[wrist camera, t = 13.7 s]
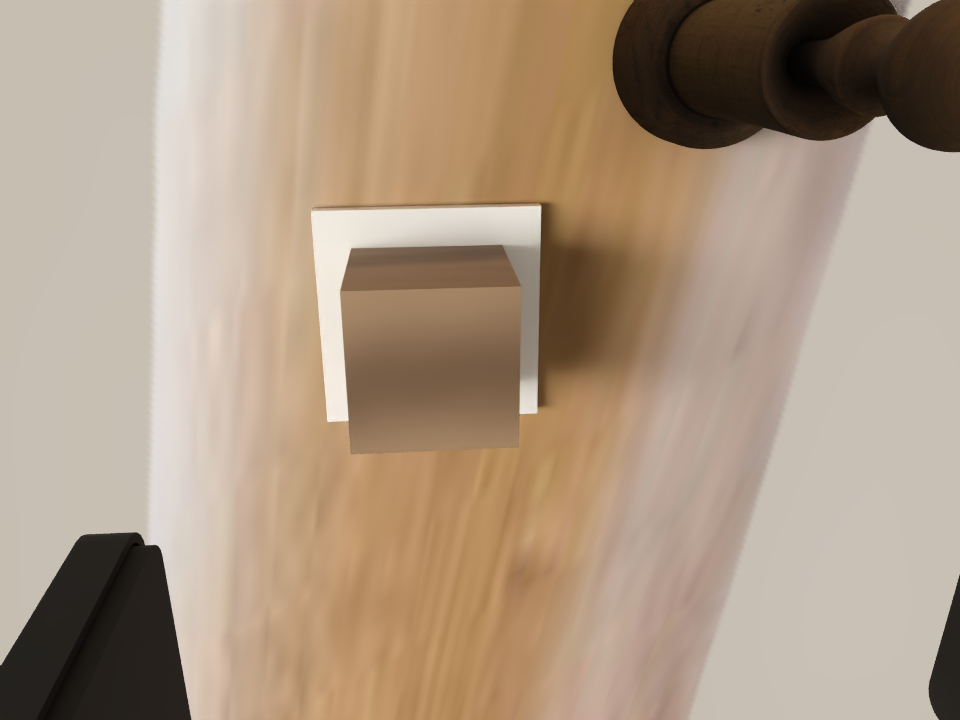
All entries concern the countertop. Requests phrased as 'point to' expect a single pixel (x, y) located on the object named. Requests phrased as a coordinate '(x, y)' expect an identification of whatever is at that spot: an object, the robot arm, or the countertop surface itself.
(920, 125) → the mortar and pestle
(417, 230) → the tile pad
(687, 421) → the countertop surface
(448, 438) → the walnut cube
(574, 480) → the countertop surface
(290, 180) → the countertop surface
